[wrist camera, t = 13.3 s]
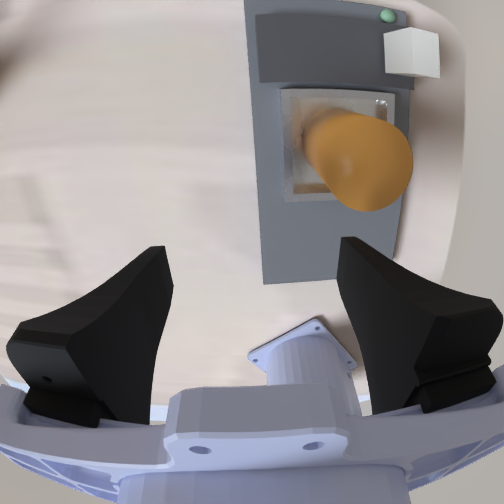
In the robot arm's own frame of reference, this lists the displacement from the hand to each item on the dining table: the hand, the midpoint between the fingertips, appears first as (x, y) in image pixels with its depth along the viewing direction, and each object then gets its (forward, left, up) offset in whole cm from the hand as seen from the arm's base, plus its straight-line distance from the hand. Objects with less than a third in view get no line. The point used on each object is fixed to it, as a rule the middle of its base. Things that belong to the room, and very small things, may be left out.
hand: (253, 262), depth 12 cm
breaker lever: (+3, -12, -6) cm, 14 cm away
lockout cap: (0, -6, -8) cm, 10 cm away
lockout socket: (-1, -6, -8) cm, 10 cm away
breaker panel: (-1, -6, -9) cm, 11 cm away
